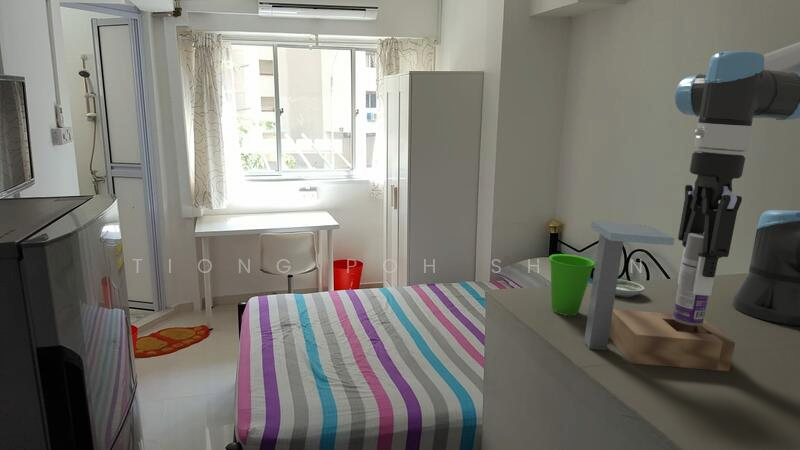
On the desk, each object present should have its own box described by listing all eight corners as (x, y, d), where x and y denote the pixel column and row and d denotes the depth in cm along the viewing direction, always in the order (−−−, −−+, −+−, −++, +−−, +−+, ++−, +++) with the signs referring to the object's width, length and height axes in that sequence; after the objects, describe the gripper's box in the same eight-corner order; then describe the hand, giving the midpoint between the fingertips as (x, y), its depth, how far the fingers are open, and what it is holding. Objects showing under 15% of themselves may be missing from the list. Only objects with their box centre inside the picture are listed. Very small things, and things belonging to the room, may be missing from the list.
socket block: (694, 341, 102) (698, 316, 101) (729, 371, 90) (735, 342, 89) (606, 334, 102) (610, 308, 101) (630, 363, 91) (635, 334, 90)
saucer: (630, 288, 134) (632, 278, 133) (651, 302, 124) (652, 291, 124) (592, 286, 133) (593, 277, 132) (609, 300, 123) (611, 289, 123)
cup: (533, 308, 114) (540, 257, 111) (558, 301, 120) (564, 252, 117) (572, 323, 107) (580, 268, 105) (596, 314, 113) (604, 262, 111)
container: (697, 317, 97) (713, 234, 94) (706, 327, 92) (723, 240, 89) (669, 314, 98) (684, 231, 95) (676, 323, 93) (692, 237, 90)
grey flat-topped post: (630, 338, 101) (649, 225, 97) (652, 362, 92) (674, 238, 87) (575, 333, 102) (592, 221, 97) (592, 357, 92) (610, 233, 88)
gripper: (671, 146, 98) (650, 272, 103) (725, 154, 81) (696, 305, 85) (714, 149, 98) (691, 276, 103) (777, 157, 80) (745, 309, 85)
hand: (693, 289), depth 94 cm, fingers closed on container, 5 cm apart
